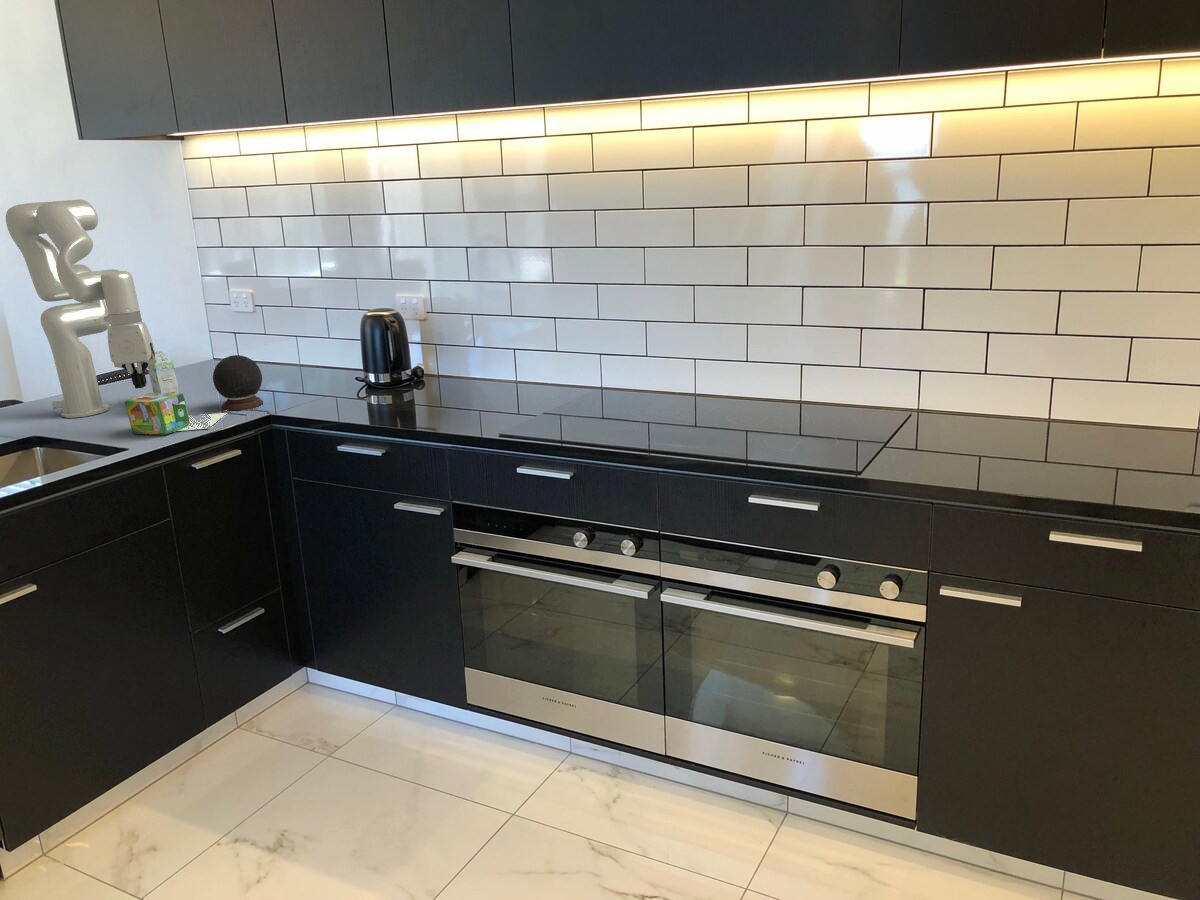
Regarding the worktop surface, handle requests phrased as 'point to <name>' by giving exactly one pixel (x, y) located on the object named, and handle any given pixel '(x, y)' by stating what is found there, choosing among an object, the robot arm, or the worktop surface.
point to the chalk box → (157, 413)
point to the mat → (213, 420)
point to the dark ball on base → (238, 382)
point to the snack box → (163, 375)
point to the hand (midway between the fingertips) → (140, 387)
